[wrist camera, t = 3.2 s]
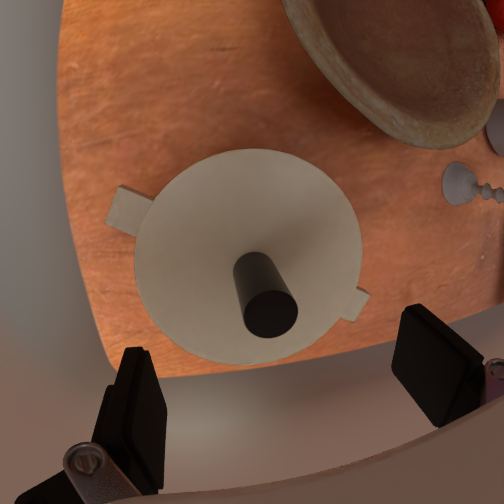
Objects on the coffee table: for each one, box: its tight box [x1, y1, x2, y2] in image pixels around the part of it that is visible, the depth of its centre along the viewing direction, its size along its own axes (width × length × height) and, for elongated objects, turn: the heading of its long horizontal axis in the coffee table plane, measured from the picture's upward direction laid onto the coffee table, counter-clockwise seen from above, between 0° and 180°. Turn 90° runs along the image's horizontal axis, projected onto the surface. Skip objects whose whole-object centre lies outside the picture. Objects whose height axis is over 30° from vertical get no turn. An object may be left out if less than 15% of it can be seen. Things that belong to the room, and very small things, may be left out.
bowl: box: [281, 0, 500, 150], centre depth 19 cm, size 24×24×8 cm
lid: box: [134, 149, 362, 365], centre depth 16 cm, size 14×14×6 cm
